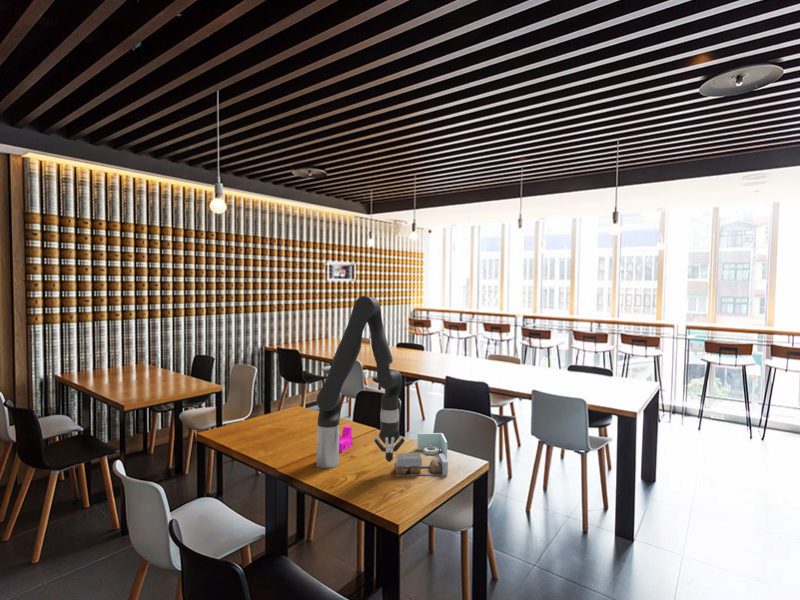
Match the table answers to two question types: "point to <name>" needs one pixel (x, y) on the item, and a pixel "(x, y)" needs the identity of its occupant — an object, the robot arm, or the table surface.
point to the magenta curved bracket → (345, 439)
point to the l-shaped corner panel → (432, 443)
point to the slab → (408, 460)
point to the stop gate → (443, 464)
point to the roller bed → (416, 471)
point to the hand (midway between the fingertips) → (389, 460)
